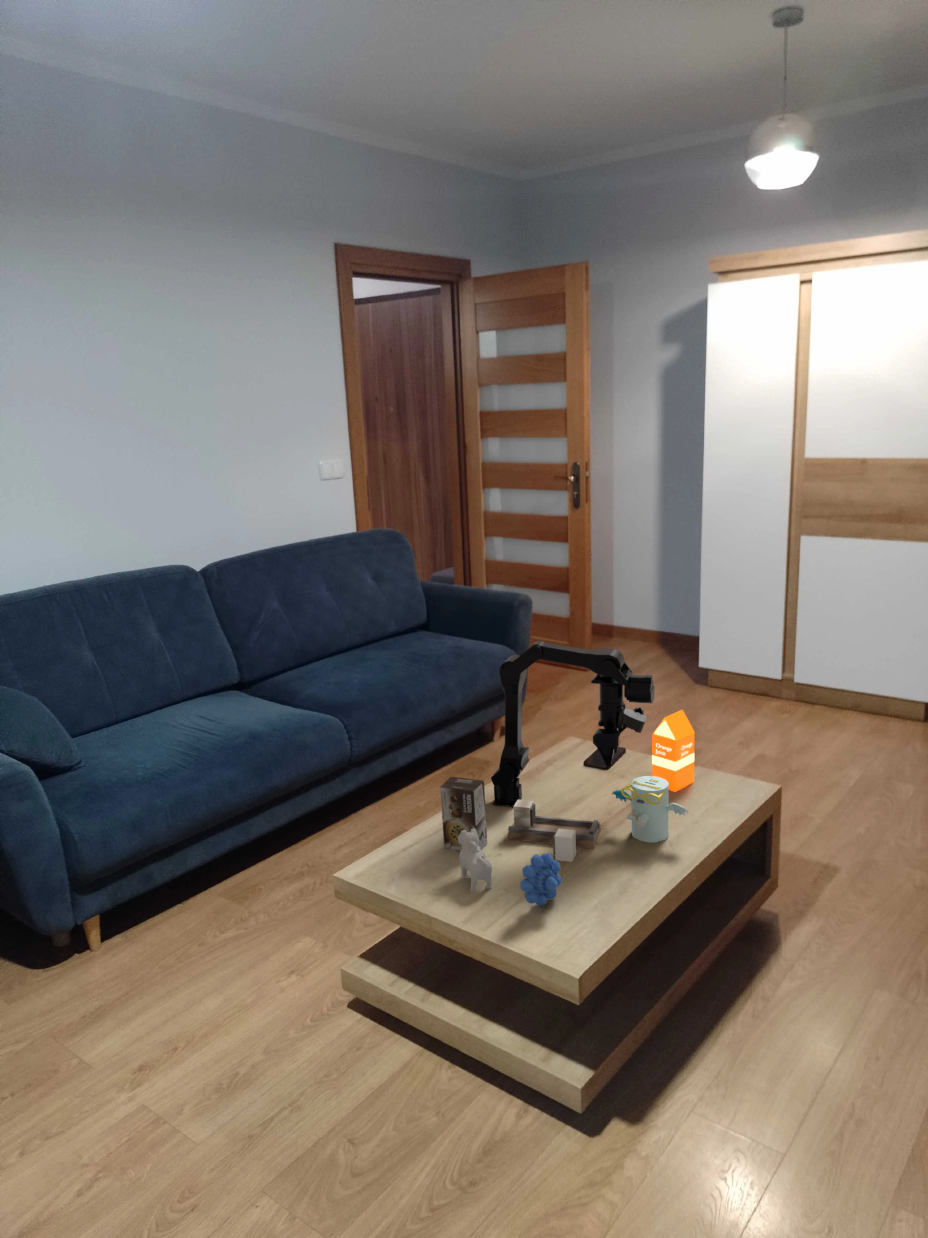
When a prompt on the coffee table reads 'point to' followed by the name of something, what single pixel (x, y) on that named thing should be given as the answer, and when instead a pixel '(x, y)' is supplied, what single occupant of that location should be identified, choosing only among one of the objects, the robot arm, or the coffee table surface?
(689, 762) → the orange juice
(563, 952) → the coffee table surface
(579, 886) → the coffee table surface
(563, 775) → the coffee table surface
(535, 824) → the rail
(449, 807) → the coffee box
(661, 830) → the character sculpture
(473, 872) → the dog figurine
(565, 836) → the off-white square prism
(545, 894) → the grapes
